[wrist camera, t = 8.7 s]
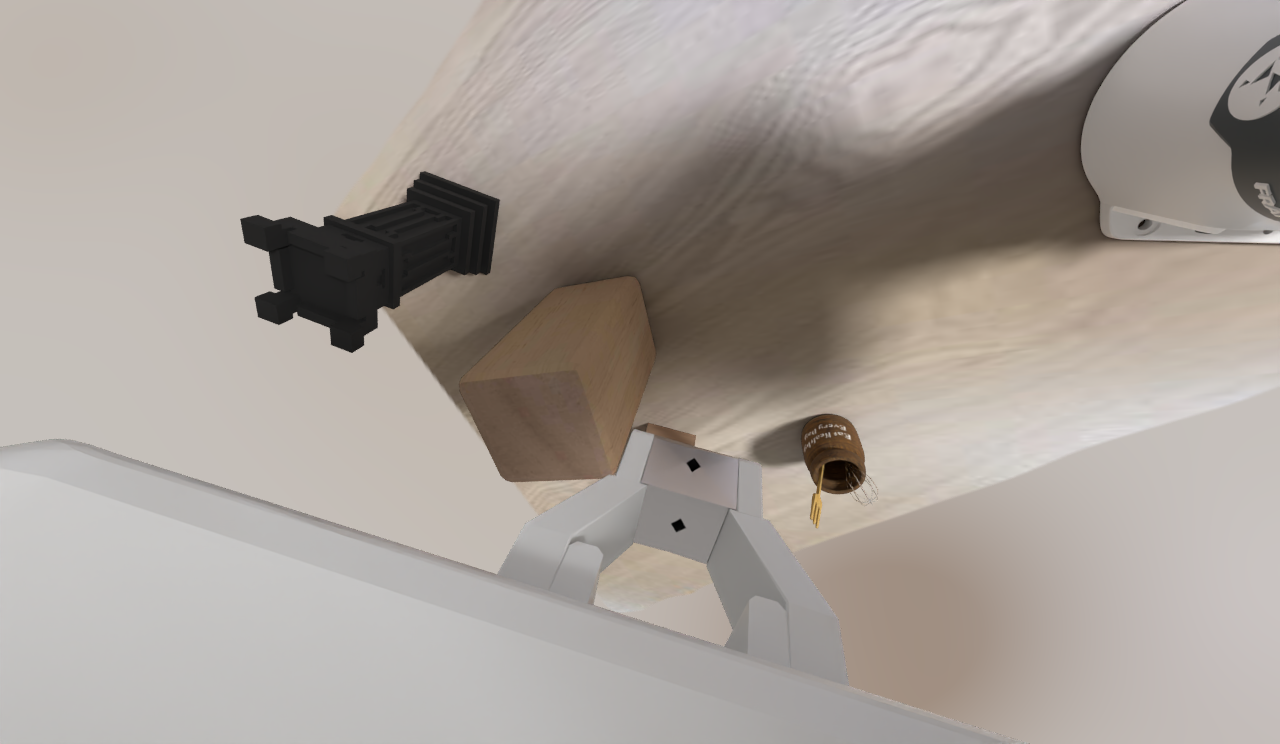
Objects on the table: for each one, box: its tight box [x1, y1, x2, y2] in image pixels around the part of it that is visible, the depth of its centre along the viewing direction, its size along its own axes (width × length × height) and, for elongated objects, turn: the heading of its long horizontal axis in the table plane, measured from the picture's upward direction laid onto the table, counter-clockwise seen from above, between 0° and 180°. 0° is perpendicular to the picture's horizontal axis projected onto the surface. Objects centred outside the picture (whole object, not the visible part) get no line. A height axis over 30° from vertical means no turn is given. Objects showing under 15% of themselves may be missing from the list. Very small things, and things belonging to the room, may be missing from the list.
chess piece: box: [240, 172, 500, 353], centre depth 39 cm, size 8×8×20 cm
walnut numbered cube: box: [646, 423, 696, 446], centre depth 54 cm, size 6×6×6 cm
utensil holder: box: [801, 414, 878, 528], centre depth 46 cm, size 6×6×12 cm
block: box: [459, 276, 656, 482], centre depth 41 cm, size 10×10×20 cm
